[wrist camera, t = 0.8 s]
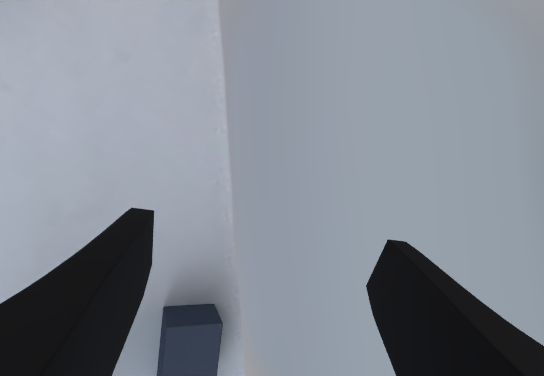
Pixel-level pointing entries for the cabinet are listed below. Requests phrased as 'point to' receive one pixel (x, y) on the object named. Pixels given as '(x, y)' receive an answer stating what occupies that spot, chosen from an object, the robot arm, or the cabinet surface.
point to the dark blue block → (190, 341)
